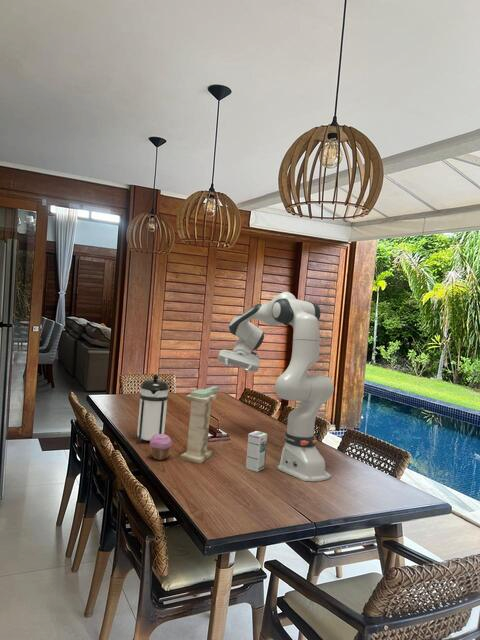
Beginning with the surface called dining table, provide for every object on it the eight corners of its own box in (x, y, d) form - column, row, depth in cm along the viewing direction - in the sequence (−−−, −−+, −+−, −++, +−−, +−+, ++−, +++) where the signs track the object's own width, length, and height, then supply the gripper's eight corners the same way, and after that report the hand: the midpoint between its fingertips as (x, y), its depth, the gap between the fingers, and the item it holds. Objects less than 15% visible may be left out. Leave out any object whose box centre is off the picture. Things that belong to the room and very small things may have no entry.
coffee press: (175, 442, 220) (181, 376, 219) (146, 447, 208) (152, 378, 207) (152, 432, 232) (157, 370, 230) (123, 437, 220) (129, 371, 219)
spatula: (210, 388, 217) (210, 385, 217) (222, 390, 215) (222, 387, 215) (190, 396, 198) (190, 392, 197) (203, 398, 196) (204, 394, 196)
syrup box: (257, 472, 191) (261, 436, 190) (245, 468, 194) (248, 432, 193) (264, 468, 196) (268, 433, 195) (252, 465, 199) (255, 430, 198)
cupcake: (160, 463, 190) (162, 438, 190) (143, 458, 195) (146, 433, 194) (174, 458, 198) (176, 434, 197) (158, 453, 202) (160, 429, 202)
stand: (193, 450, 210) (198, 391, 209) (212, 454, 207) (217, 394, 206) (179, 459, 198) (185, 396, 197) (199, 463, 195) (205, 399, 194)
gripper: (221, 343, 238) (216, 356, 225) (262, 355, 237) (259, 368, 224) (219, 354, 240) (213, 367, 228) (258, 366, 239) (255, 380, 227)
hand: (236, 368), depth 226 cm, fingers open, 8 cm apart
